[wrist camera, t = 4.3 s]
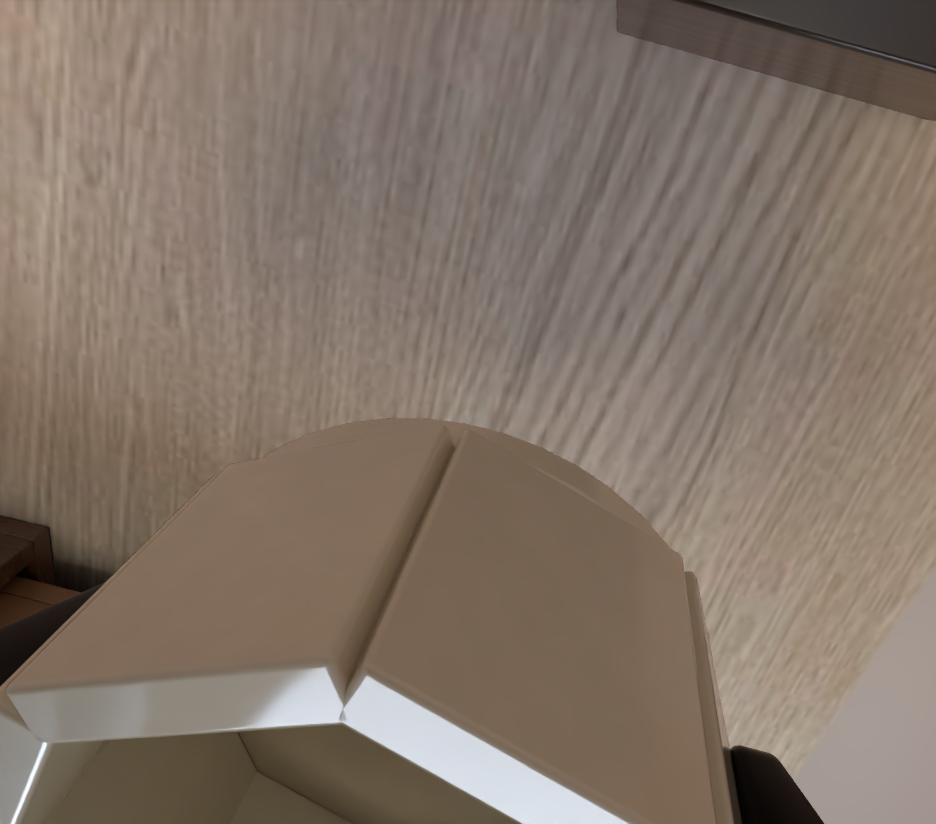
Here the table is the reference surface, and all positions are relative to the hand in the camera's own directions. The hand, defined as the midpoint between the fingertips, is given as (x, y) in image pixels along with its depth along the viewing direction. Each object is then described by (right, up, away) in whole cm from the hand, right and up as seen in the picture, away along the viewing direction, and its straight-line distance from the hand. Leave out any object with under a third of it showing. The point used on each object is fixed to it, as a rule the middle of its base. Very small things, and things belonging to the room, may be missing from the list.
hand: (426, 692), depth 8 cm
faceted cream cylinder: (0, 0, 0) cm, 1 cm away
